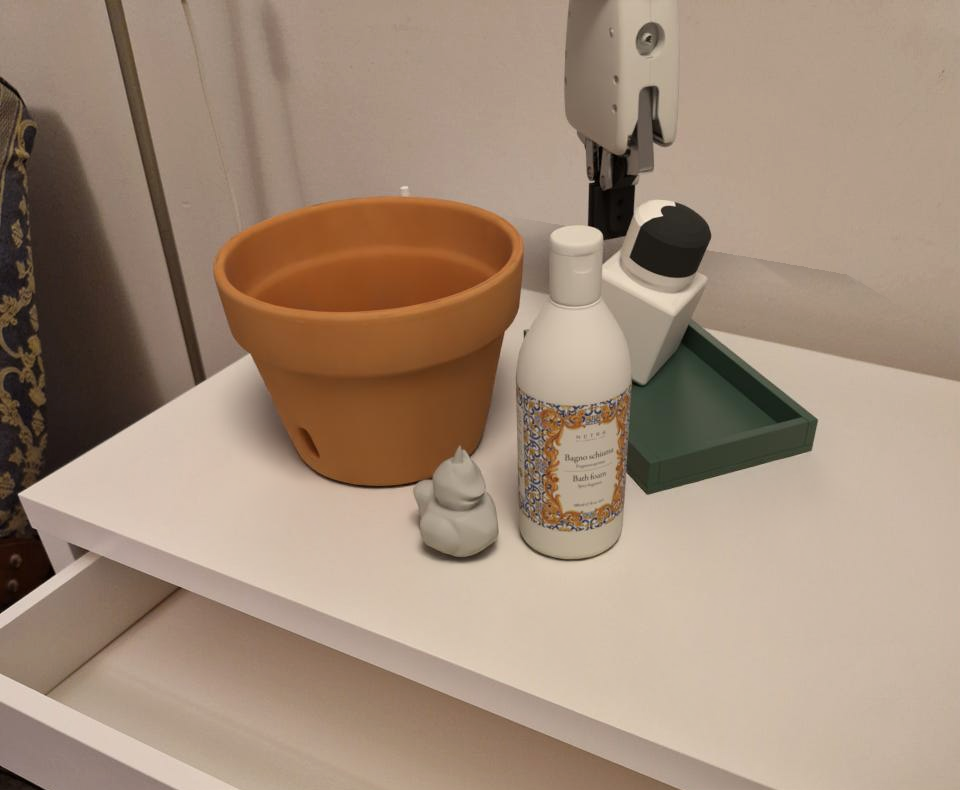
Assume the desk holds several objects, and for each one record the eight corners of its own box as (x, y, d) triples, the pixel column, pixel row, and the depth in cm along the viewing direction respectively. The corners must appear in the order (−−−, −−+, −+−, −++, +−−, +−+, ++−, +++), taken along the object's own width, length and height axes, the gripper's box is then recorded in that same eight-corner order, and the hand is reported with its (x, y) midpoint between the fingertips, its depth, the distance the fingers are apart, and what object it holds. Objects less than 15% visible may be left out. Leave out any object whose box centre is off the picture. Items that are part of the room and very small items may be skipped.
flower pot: (371, 349, 89) (349, 174, 79) (577, 410, 80) (581, 220, 70) (198, 463, 76) (145, 272, 66) (417, 550, 67) (395, 344, 57)
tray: (664, 326, 90) (666, 298, 88) (812, 450, 74) (818, 419, 72) (523, 358, 86) (523, 329, 85) (647, 494, 71) (649, 463, 69)
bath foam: (535, 571, 65) (531, 267, 51) (508, 511, 70) (498, 220, 56) (636, 552, 66) (659, 249, 52) (603, 494, 71) (616, 204, 57)
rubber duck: (467, 582, 64) (459, 477, 59) (393, 544, 68) (380, 442, 62) (520, 541, 67) (517, 437, 62) (447, 507, 71) (438, 406, 65)
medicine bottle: (677, 350, 85) (736, 220, 76) (643, 388, 80) (701, 254, 71) (605, 311, 86) (654, 178, 77) (567, 347, 82) (614, 209, 72)
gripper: (728, -29, 63) (698, 260, 75) (621, -61, 73) (611, 197, 86) (620, -15, 61) (608, 278, 74) (526, -50, 72) (530, 212, 84)
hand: (610, 234), depth 80 cm, fingers closed
